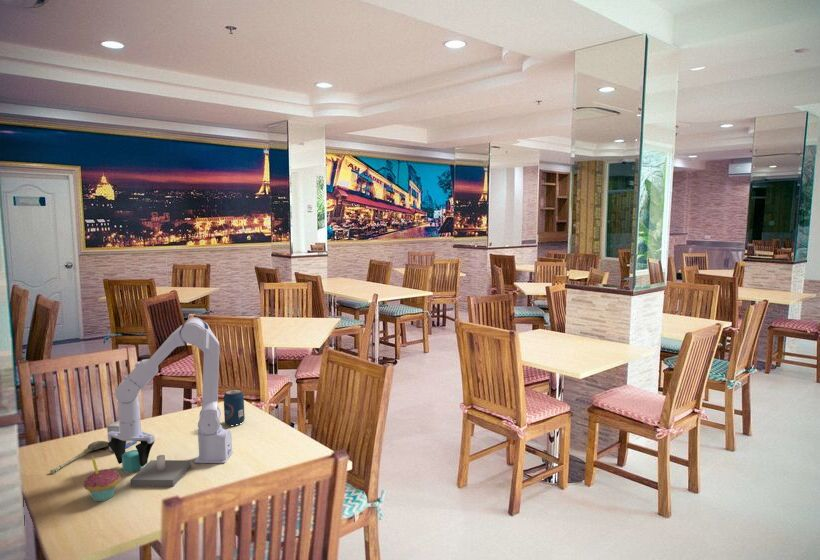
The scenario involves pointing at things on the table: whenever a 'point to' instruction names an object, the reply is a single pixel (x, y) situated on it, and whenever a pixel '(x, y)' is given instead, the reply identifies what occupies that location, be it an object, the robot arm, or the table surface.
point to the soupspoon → (90, 447)
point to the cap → (131, 461)
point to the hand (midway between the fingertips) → (132, 463)
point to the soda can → (234, 407)
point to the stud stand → (161, 473)
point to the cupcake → (102, 483)
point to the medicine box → (115, 427)
